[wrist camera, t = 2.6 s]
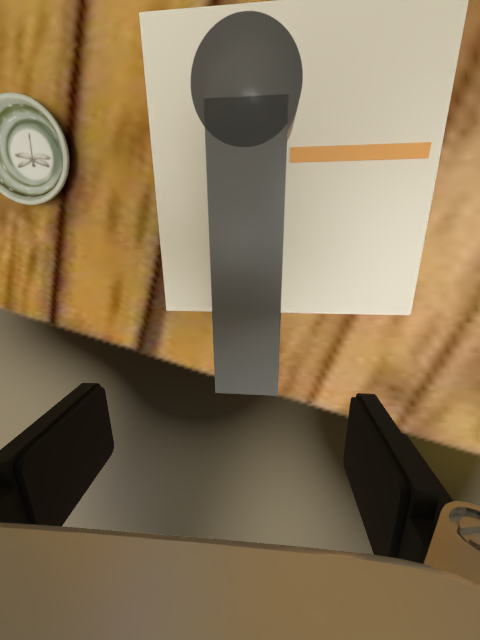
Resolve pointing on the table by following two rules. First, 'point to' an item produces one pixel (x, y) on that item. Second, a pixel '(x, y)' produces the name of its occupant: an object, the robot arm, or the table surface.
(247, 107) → the handle
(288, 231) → the base
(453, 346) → the table surface
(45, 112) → the saucer
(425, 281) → the table surface
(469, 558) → the robot arm
